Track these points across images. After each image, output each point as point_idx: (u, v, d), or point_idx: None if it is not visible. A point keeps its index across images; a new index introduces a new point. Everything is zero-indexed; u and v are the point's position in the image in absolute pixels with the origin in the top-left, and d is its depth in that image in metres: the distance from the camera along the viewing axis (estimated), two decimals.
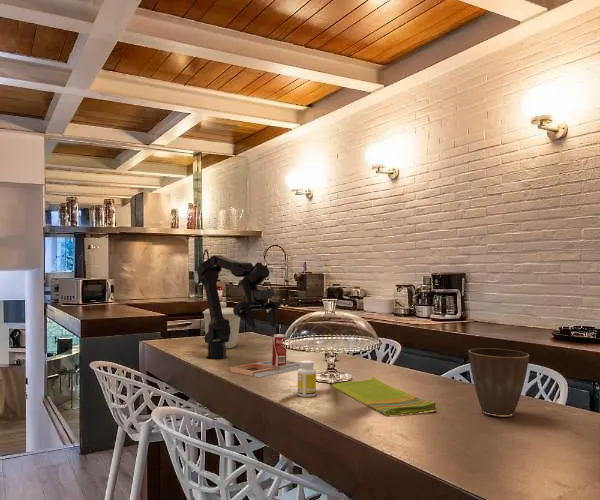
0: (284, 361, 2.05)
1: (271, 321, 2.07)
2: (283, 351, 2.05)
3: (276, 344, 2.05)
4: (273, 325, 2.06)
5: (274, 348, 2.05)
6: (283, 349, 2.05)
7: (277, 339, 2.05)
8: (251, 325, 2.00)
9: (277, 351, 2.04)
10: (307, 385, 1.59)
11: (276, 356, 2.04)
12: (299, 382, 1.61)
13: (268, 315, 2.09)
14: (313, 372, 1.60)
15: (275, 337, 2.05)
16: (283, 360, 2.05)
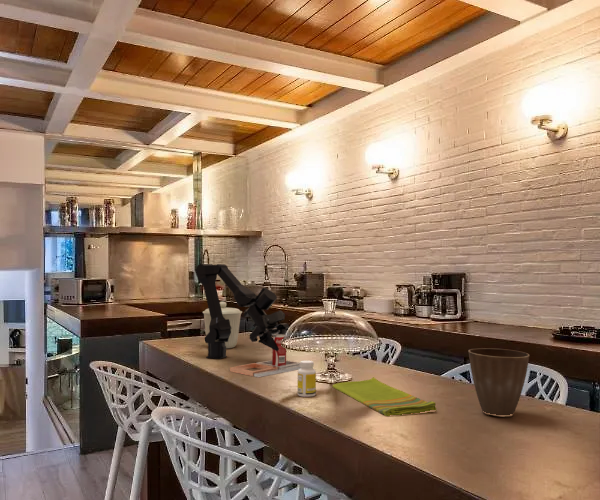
0: (284, 361, 2.05)
1: None
2: (283, 351, 2.05)
3: None
4: None
5: None
6: (283, 349, 2.05)
7: (277, 339, 2.05)
8: (274, 347, 2.04)
9: (277, 351, 2.04)
10: (307, 385, 1.59)
11: (276, 356, 2.04)
12: (299, 382, 1.61)
13: None
14: (313, 372, 1.60)
15: (275, 337, 2.05)
16: (283, 360, 2.05)
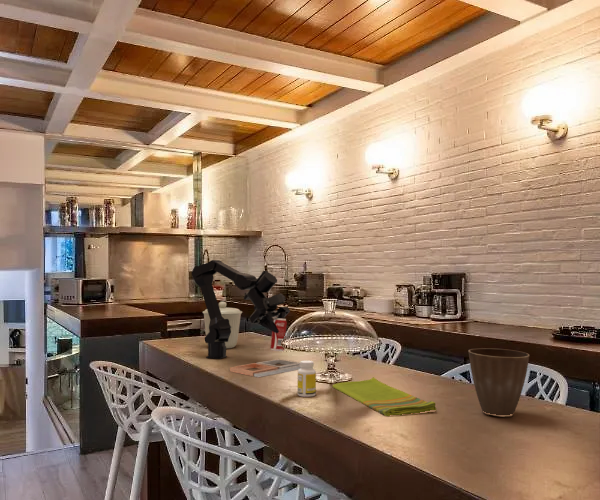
0: None
1: None
2: (282, 334, 2.05)
3: None
4: None
5: None
6: (283, 332, 2.05)
7: (277, 322, 2.05)
8: (274, 330, 2.04)
9: (276, 334, 2.04)
10: (307, 385, 1.59)
11: (275, 339, 2.04)
12: (299, 382, 1.61)
13: None
14: (313, 372, 1.60)
15: (276, 320, 2.06)
16: None
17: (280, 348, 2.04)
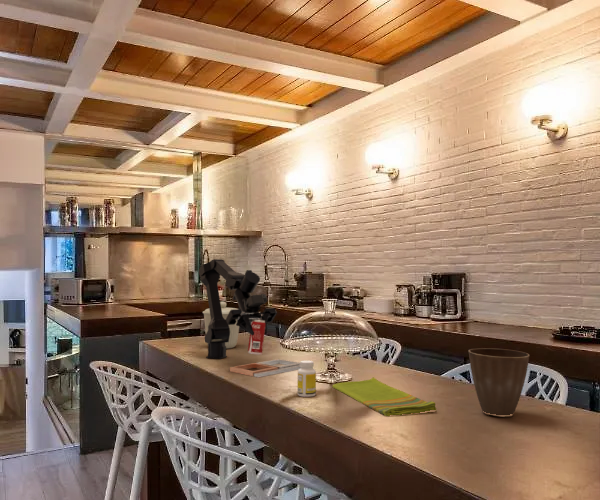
0: (259, 347, 1.96)
1: None
2: (258, 337, 1.96)
3: None
4: (265, 332, 1.99)
5: None
6: (258, 335, 1.96)
7: (253, 323, 1.97)
8: (249, 331, 1.97)
9: (252, 336, 1.96)
10: (307, 385, 1.59)
11: (251, 341, 1.96)
12: (299, 382, 1.61)
13: None
14: (313, 372, 1.60)
15: (252, 321, 1.98)
16: (257, 346, 1.95)
17: (255, 351, 1.95)
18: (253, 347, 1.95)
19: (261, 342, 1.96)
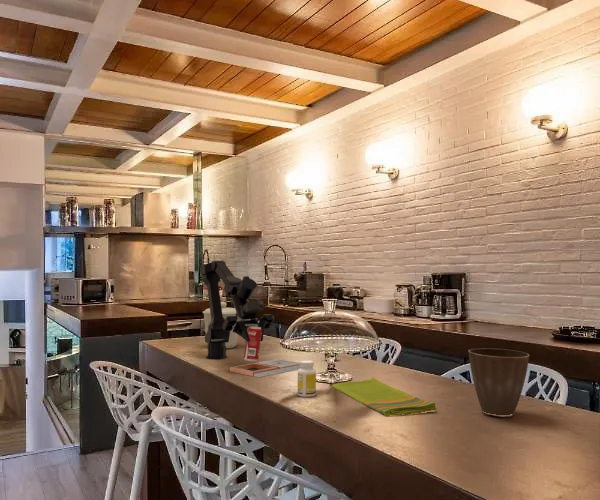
0: (254, 354, 1.95)
1: None
2: (254, 343, 1.95)
3: (248, 335, 1.96)
4: (261, 338, 1.98)
5: None
6: (254, 341, 1.95)
7: (249, 330, 1.96)
8: (245, 338, 1.96)
9: (248, 343, 1.95)
10: (307, 385, 1.59)
11: (247, 348, 1.95)
12: (299, 382, 1.61)
13: None
14: (313, 372, 1.60)
15: (248, 328, 1.97)
16: (253, 353, 1.94)
17: (251, 358, 1.94)
18: (249, 354, 1.94)
19: (257, 349, 1.95)
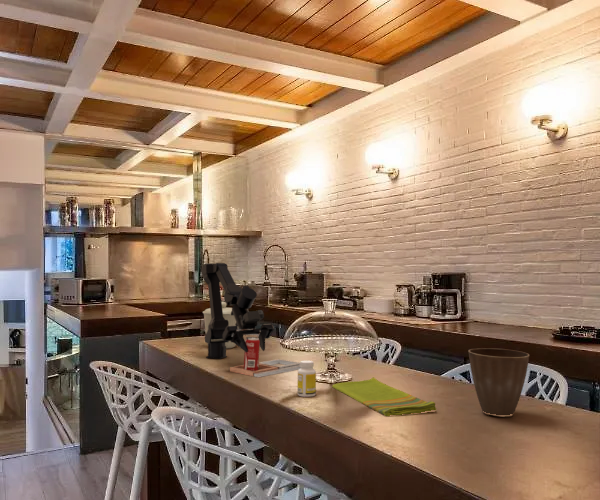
0: (254, 366, 1.94)
1: (261, 345, 2.00)
2: (253, 355, 1.94)
3: None
4: (263, 348, 1.98)
5: None
6: (253, 353, 1.94)
7: (247, 342, 1.95)
8: (243, 348, 1.95)
9: (246, 354, 1.95)
10: (307, 385, 1.59)
11: (246, 359, 1.95)
12: (299, 382, 1.61)
13: (259, 339, 2.02)
14: (313, 372, 1.60)
15: (246, 339, 1.96)
16: (252, 364, 1.94)
17: (250, 369, 1.94)
18: (248, 366, 1.94)
19: (256, 360, 1.95)
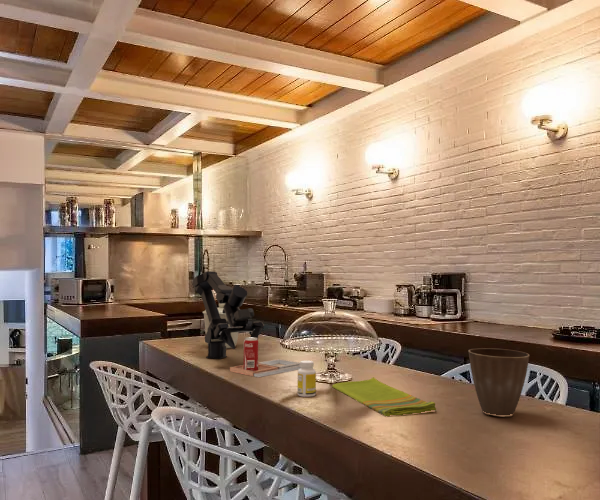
0: (253, 366, 1.94)
1: None
2: (252, 355, 1.94)
3: (245, 348, 1.95)
4: None
5: (244, 352, 1.96)
6: (252, 353, 1.94)
7: (246, 342, 1.95)
8: (231, 345, 2.01)
9: (246, 355, 1.95)
10: (307, 385, 1.59)
11: (245, 360, 1.95)
12: (299, 382, 1.61)
13: (252, 336, 2.10)
14: (313, 372, 1.60)
15: (245, 340, 1.96)
16: (252, 365, 1.94)
17: None
18: (248, 366, 1.94)
19: (255, 360, 1.95)
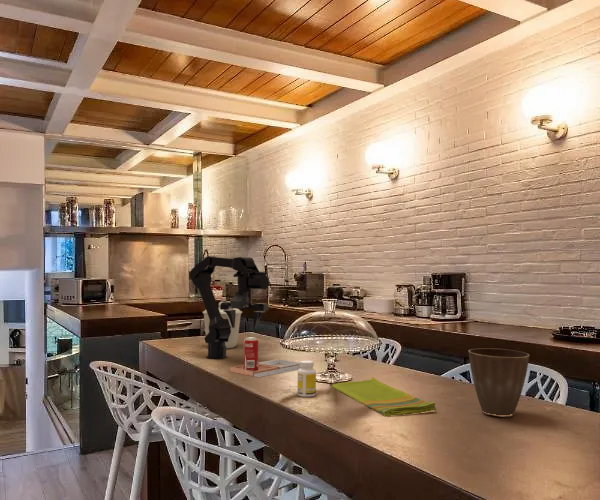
0: (253, 366, 1.94)
1: None
2: (252, 355, 1.94)
3: (245, 348, 1.95)
4: None
5: (244, 352, 1.96)
6: (252, 353, 1.94)
7: (246, 342, 1.95)
8: None
9: (246, 355, 1.95)
10: (307, 385, 1.59)
11: (245, 360, 1.95)
12: (299, 382, 1.61)
13: None
14: (313, 372, 1.60)
15: (245, 340, 1.96)
16: (252, 365, 1.94)
17: None
18: (248, 366, 1.94)
19: (255, 360, 1.95)
